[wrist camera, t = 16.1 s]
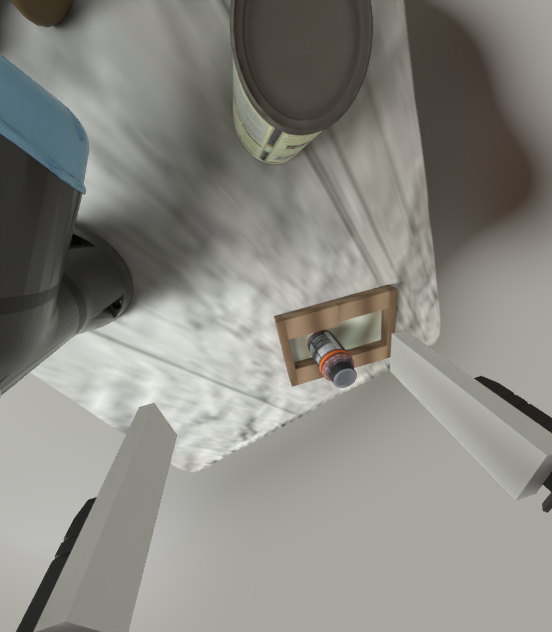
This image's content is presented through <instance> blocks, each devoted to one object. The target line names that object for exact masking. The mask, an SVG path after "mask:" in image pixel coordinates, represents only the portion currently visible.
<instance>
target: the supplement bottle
mask: <svg viewBox="0 0 552 632" xmlns="http://www.w3.org/2000/svg"><path fill="white" fill-rule="evenodd" d="M307 346H308V349H309V352H310V353H311V355H312V357H313V359H314V361H315V363H316V364H317V366H318V368H319V370H320V372H321V374H322V375H323V376H324V378H326V379H327V380H329V381H332V382H333V383H334V385H335V386H337V387H339V388H345V387H348V386H350V385H351V384H353V383H354V382H355V380H356V378H357V373H356V371H355V370H354V360H353V358H352V357H351V356H350V354H349V353H348V352H347V351H346V349H345V348H344V347H343V346H342V344H341V343H340V342H339V341H338V340H337V338H336V337H335V336H334V335H333V334H332V333H331V332H330V331H327V330H322V331H318V332H315V333H313V334H312V335H311V336H310V338H309V340H308V343H307Z"/></svg>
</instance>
